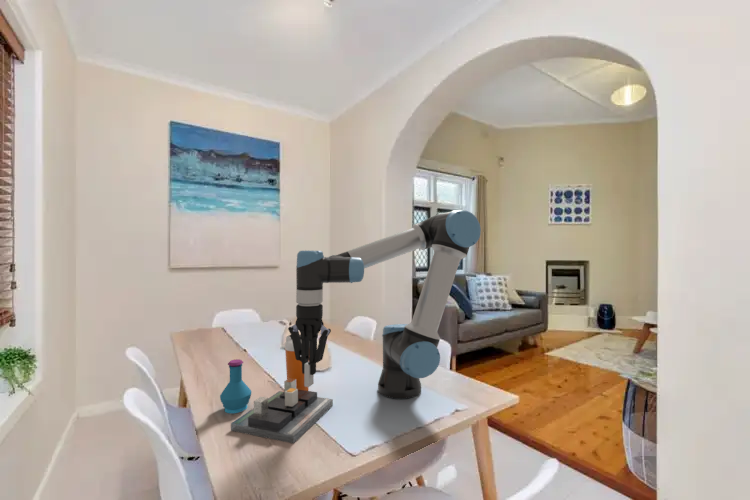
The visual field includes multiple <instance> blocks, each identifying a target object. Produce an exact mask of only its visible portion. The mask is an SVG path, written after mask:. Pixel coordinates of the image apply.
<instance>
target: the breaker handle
mask: <svg viewBox="0 0 750 500" xmlns="http://www.w3.org/2000/svg"><path fill="white" fill-rule="evenodd" d="M297 403H298V389H294V388H290V389H288V390H287V391H286V392H285V406H291V407H293V406H294V405H295V404H297Z"/></svg>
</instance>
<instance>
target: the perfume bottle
mask: <svg viewBox="0 0 750 500" xmlns="http://www.w3.org/2000/svg"><path fill="white" fill-rule="evenodd" d="M243 364H244V361H243V360H242V359H240V358H239V359H237V358H236V359H231V360H230V361H228V362H227V365H228V369H229V382H228V383H227V385H226V386H225V388H224V389H223V390H222V392H220V395H219V398H220V402H221V404H222V407H223V408H224V412H225V413H227V414H238V413H243V412H244V411H246V410H247V408H248V405H249V402H250V399H251V397H252V390H251V389H250V387H249V386H248V385H247V384H246V383H245V381H243V369H242V368H243Z"/></svg>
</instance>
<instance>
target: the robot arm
mask: <svg viewBox="0 0 750 500" xmlns="http://www.w3.org/2000/svg"><path fill="white" fill-rule="evenodd" d="M481 232H482V229H481V224H480V222H479V220H478V218H477V216H476V215H475V214H473V212H470V211H468V210H464V209H463V210H462V209H457V210H456V209H455V210H451V211H448V212H441V213H438V214H435V215H433V216H430V217H429V218H426V219H425V220H422V221H421V222H418V223H415V224H412V226H411V228H409V229H406V230H404V231H401V232H398V233H397V232H396V233H394V234H392V235H389V236H386V237H384V238H381V239H379V240H374V241H372V242H369V243H367V244H364V245H361V246H359V247H356V248H352V249H350V250H347V251H344V252H341V253H338V254H335V255H333V254H332V255H330V256H324V252H323V251H322V250H299V251H298V252H297V254H296V267H295V269H296V270H295V271H296V290H295V291H296V292H295V293H296V295H295V302H296V307H295V311H296V312H295V315H296V321H295V324H293V325H291V326H289V327H287V328H288V329H287V331H288V332H289V335H291V337H292V342H293V347H294V352H295V357H296V360H300V361H301V362H302V373H303V374H304V386H305V387H312V386H313V385H314V382H315V381H314V380H315V379H314V375H315V374H316V373H317V363H320V362H321V361H322V360H323V359H324V355H325V354H324V353H325V350H326V347H327V346H326V345H327V341H328V336H329V335H330V333H331V332H332V330H331V328H327V327H326V326H324V325H325V324H324V320H323V315H324V313H323V304H322V303H323V301H324V300H323V299H324V298H323V297H324V291H323V290H324V284H331V283H333V284H334V283H336V284H337V283H339V284H340V283H347V284H348V283H350V284H353V283H360V282H362V281H363V279H364V274H365V269H367V268H370V267H373V266H375V265H378V264H380V263H383V262H386V261H389V260H391V259H395V258H397V257H399V256H402V255H405V254H407V253H408V254H409V253H411V252H413V251H416V250H421V251H424V250H427V249H431V248H432V249H433V251H434V253H433V255H432V258H431V262H430V265H429V267H428V271H427V272H426V273H427V274H426V276H425V279H424V283H423V286H422V289H421V291H420V295H419V298H418V301H417V304H416V307H415V310H414V313H413V316H412V319H411V322H410V323H399V324H398V323H397V324H387V325H385V326H384V327H383V329H382V335H381V337H382V369H381V372H380V377H379V379H378V382H377V385H378V386H377V391H378V393H379V394H381V395H382V396H384V397H387V398H391V399H397V400H398V399H399V400H401V399H402V400H403V399H404V400H405V399H406V400H407V399H411V398H414V397H417V396H419V395H420V394H421V393H422V383H421V380H420V379H424V378H427V377H429V376H431V375H433V374H434V372H435V371H437V369H438V368H439V365H440V362H441V355H440V354H441V353H440V351H439V349H438V346H439V343H440V340H441V337H440V334H439V333H438V330H439V327H440V324H441V321H442V317H443V314H444V312H445V308H446V306H447V303H448V300H449V296H450V292H451V290H452V287H453V284H454V282H455V281H454V280H455V278H456V277H455V276H456V275H457V270H458V267H459V265H460V262H461V260H463V259H464V258H467V256H468V253H469V250H470V247H473V246H474V245H475V244H477V243H478V242H479V240H480V238H481ZM319 333H320V336H319ZM300 335H301V340H300ZM318 337H319V340H318ZM308 360H309V361H308Z"/></svg>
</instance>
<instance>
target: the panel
mask: <svg viewBox="0 0 750 500" xmlns="http://www.w3.org/2000/svg"><path fill="white" fill-rule="evenodd" d="M283 384H284V386H283V388H284V390H283V391H277V392H276V393H274V394H273V395H271V396H270V397H263V396H259V397H258V398H257V399H255V400H253V408H251V410H249V411H247V412H246V413H245V414H243V415H241V416H240V417H239V418H237V419H235V420H234V421H232V422H231V423H230V431H231V432H236V433H239V434H241V433H242V434H246V435H250V436H256V437H260V438H263V439H264V438H265V439H270V440H275V441H280V442H283V443H290V444H295V443H296V442H297V441H299V439H300V438H301V437H302V436H303V435H304V434H305V433H306V432H308V430H309V429H310V428H311V427H313V426H314V425H315V424H316V422H318V421H319V419H320V418H322V417H323V414H324V413H325V412H326V411H327V410H328V411H329V410H330V409H331V408H332V407H333V405H334V403H333V400H334V399H332V398H325V397H321V396H318V391H313V390H312V391H310V390H308V391H305V390H298V403H297V404H295V405H294V406H293V407H291V406H285V392H286V391H287V390H288V389H290V388H294V389H296V379H292V378H289V379H287V378H286V380H284V383H283ZM329 408H330V409H329ZM328 411H327V412H328ZM327 412H326V413H327ZM326 413H325V414H326ZM325 414H324V415H325Z"/></svg>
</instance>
